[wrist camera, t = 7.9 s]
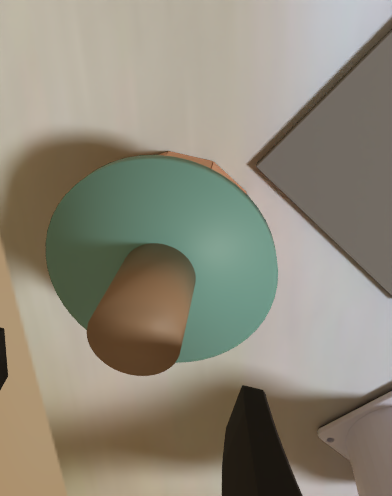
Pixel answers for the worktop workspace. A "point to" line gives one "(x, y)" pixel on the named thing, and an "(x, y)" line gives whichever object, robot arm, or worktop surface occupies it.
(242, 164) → the worktop surface
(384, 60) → the mat
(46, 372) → the worktop surface
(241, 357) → the worktop surface
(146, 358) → the lid
